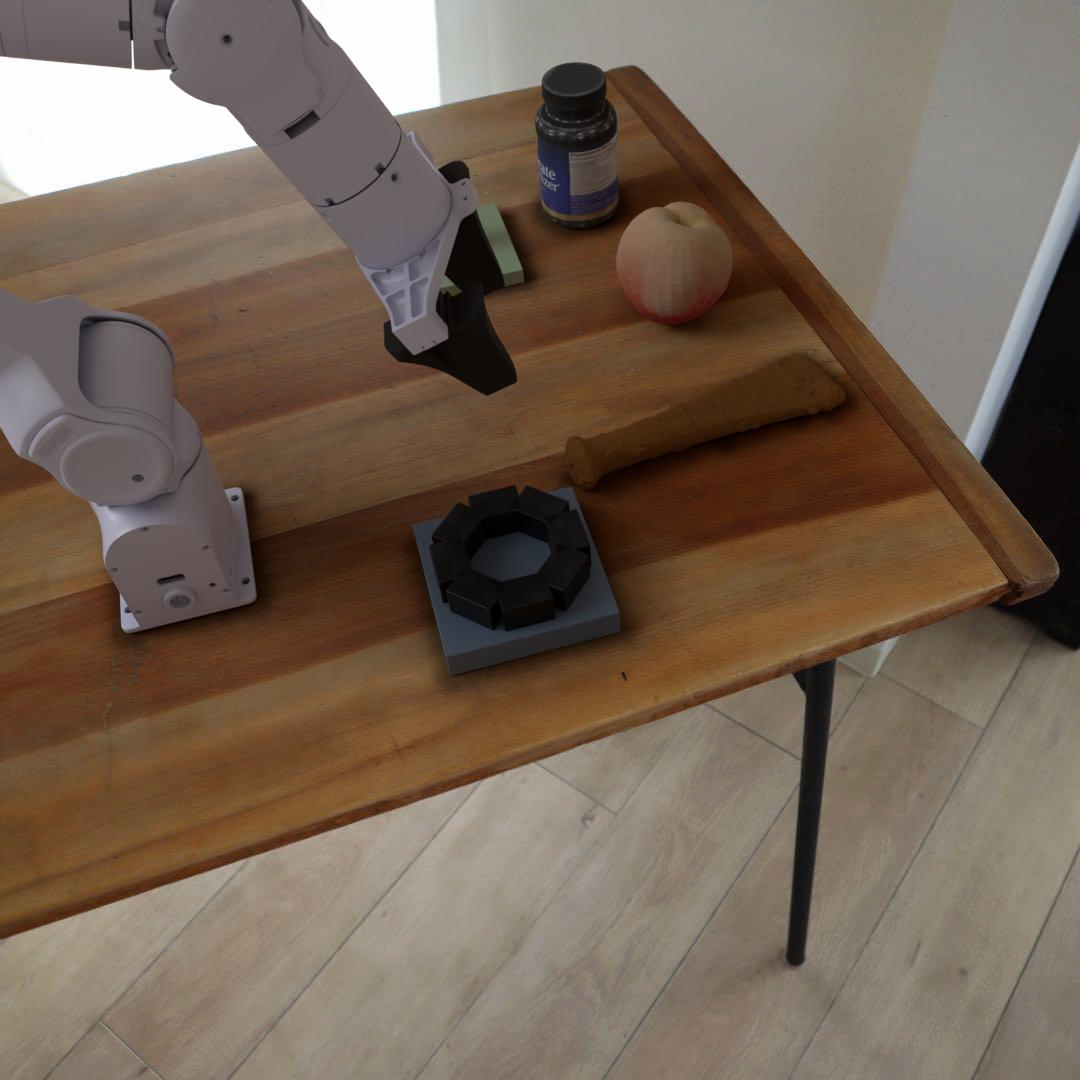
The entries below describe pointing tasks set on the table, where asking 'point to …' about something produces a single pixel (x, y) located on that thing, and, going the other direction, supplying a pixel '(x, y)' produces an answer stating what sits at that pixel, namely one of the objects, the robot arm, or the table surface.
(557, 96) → the pill bottle
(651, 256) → the fruit
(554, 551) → the black segmented ring
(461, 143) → the table surface
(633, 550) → the table surface
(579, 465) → the primitive tool
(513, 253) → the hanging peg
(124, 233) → the table surface
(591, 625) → the gray square coaster
